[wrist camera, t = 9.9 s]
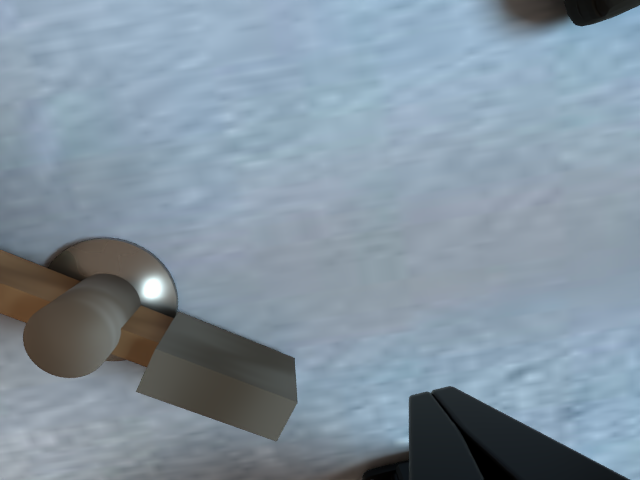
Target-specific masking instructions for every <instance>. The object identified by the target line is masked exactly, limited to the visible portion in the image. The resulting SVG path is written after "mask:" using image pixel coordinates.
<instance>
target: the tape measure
mask: <svg viewBox="0 0 640 480" xmlns="http://www.w3.org/2000/svg"><path fill="white" fill-rule="evenodd" d="M639 5H640V0H565V6H566V10H567V13H568V15H569V17H570V19H571V20H572V21H573V23H574V24H575V25H578V26H585V25H590V24H594V23H598V22H601V21H603V20H606V19H609V18H612V17H615V16H617V15H619V14H621V13H624V12H626V11H628V10H630V9H632V8H635V7H637V6H639Z"/></svg>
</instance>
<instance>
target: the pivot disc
mask: <svg viewBox="0 0 640 480" xmlns="http://www.w3.org/2000/svg"><path fill="white" fill-rule="evenodd" d="M48 269H50V270H53V271H56V272H58V273H61V274H63V275H66V276H68V277H71V278H73V279H76V280H78V281H82V280H84V279H86V278H87V277H89V276H92V275H96V274H112V275H116V276H119V277H121V278H123V279H125V280H126V281H128V282H129V283H130V284H131V285H132V286H133V287H134V288H135V290H136V291H137V293H138V295H139V297H140V301H141V306H144V307H146V308H149V309H151V310H154V311H157V312H159V313H162V314H164V315H167V316H169V317H172V318H175V316H176V314H177V310H178V295H177V290H176V286H175V283H174V281H173V278H172V276H171V275H170V273H169V271H168V270H167V268H166V267H165V266H164V264H163V263H162V262H161V261H160V260H159V259H158V258H157V257H156V256H155V255H153V254H152V253H151V252H149V251H148V250H146V249H145V248H143V247H141V246H139V245H137V244H135V243H132V242H129V241H125V240H121V239H115V238H97V239H90V240H87V241H83V242H81V243H78V244H76V245H74V246H72V247H70V248H68V249H66V250H65V251H63V252H62V253H61V254H60V255H58V256H57V257H56V258H55V259H54V260H53V261H52V263H51V264H50V265H49V267H48ZM122 360H126V359H123V358H121V357H118V356H115V355H113V354H110V355H109V356H108V358H107V359H106V360H105V361H122Z"/></svg>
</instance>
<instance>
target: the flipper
mask: <svg viewBox="0 0 640 480" xmlns="http://www.w3.org/2000/svg"><path fill="white" fill-rule="evenodd" d="M0 313H1V314H4V315H6V316H9V317H12V318H14V319H17V320H20V321H23V322H25V323H27V324H26V326H25V329H24V333H23V342H24V347H25V350H26V352H27V354H28V356H29V357H30V359H31V360H32V361H33V362H34V363H35V364H36V365H37V366H38V367H39V368H41V369H42V370H44V371H45V372H47V373H49V374H52V375H55V376H58V377H64V378H76V377H81V376H85V375H88V374H90V373H92V372H93V371H95V370H96V369H98V368H99V367H100V366H101V365H102V364H103V362H104V361H105V360H106V359H107V358H108V356H109V355H110V354H113V355H115V356H118V357H121V358H123V359H126V360H129V361H132V362H134V363H137V364H140V365H142V366H145V367H147V368H146V371H145V373H144V375H143V377H142V379H141V382H140V384H139V386H138V388H137V391H136V392H138V393H141V394H144V395H147V396H150V397H152V398H155V399H158V400H161V401H164V402H167V403H169V404H172V405H175V406H178V407H181V408H184V409H186V410H189V411H192V412H195V413H198V414H201V415H203V416H206V417H209V418H212V419H215V420H217V421H220V422H223V423H226V424H229V425H232V426H234V427H237V428H240V429H243V430H246V431H249V432H251V433H254V434H257V435H260V436H263V437H266V438H268V439H271V440H274V441H277V440H278V438H279V436H280V434H281V432H282V430H283V428H284V427H285V425H286V423H287V421H288V419H289V417H290V415H291V413H292V412H293V410H294V408H295V406H296V404H297V388H296V373H295V358H293V357H291V356H288V355H286V354H283V353H281V352H278V351H276V350H273V349H271V348H268V347H266V346H263V345H261V344H258V343H256V342H253V341H251V340H248V339H246V338H243V337H241V336H238V335H236V334H233V333H231V332H228V331H226V330H223V329H221V328H218V327H216V326H213V325H211V324H208V323H206V322H203V321H201V320H198V319H196V318H193V317H191V316H188V315H186V314H183V313H181V312H178V313H177V314H176V316H175V318H172V317H169V316H167V315H164V314H162V313H159V312H157V311H154V310H151V309H149V308H146V307H144V306H141V301H140V297H139V295H138V293H137V291H136V290H135V288H134V287H133V286H132V285H131V284H130V283H129V282H128V281H126V280H125V279H123V278H121V277H119V276H116V275H112V274H96V275H92V276H89V277H87V278H86V279H84V280H82V281H78V280H76V279H73V278H71V277H68V276H66V275H63V274H61V273H58V272H56V271H53V270H50V269H48V268H45V267H43V266H40V265H38V264H35V263H33V262H30V261H28V260H25V259H23V258H20V257H18V256H15V255H13V254H10V253H8V252H5V251H3V250H0Z"/></svg>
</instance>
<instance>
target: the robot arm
mask: <svg viewBox="0 0 640 480" xmlns="http://www.w3.org/2000/svg"><path fill="white" fill-rule="evenodd" d="M371 479H374V480H630V479H628V478H626V477H624V476H622V475H620V474H618V473H616V472H614V471H613V470H611V469H609V468H607V467H605V466H603V465H601V464H599V463H597V462H595V461H593V460H592V459H590V458H588V457H586V456H584V455H582V454H580V453H578V452H576V451H574V450H573V449H571V448H569V447H567V446H565V445H563V444H561V443H559V442H557V441H555V440H553V439H552V438H550V437H548V436H546V435H544V434H542V433H540V432H538V431H536V430H534V429H533V428H531V427H529V426H527V425H525V424H523V423H521V422H519V421H517V420H515V419H513V418H512V417H510V416H508V415H506V414H504V413H502V412H500V411H498V410H496V409H494V408H493V407H491V406H489V405H487V404H485V403H483V402H481V401H479V400H477V399H475V398H473V397H472V396H470V395H468V394H466V393H464V392H462V391H460V390H458V389H456V388H454V387H451V386H448V387H444V388H440V389H436V390H433V391H432V392H431V393H430V392H423V393H419V394H415V395H411V396H410V397H409V460H408V461H404V462H400V463H396V464H392V465H388V466H384V467H380V468H376V469H372V470H368V471H366V472H365V473H364V474H363V476H362V480H371Z"/></svg>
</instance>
